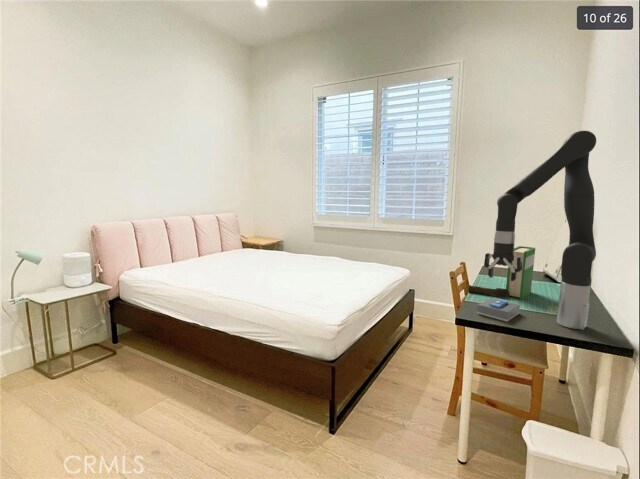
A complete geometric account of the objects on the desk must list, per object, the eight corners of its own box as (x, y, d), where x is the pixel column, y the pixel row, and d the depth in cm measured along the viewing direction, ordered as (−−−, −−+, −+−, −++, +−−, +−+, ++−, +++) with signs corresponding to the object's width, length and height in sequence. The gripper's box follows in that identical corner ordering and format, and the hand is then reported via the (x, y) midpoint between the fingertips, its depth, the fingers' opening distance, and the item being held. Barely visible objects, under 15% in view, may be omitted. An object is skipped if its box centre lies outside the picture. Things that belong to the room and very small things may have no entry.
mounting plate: (518, 313, 144) (519, 304, 144) (507, 321, 135) (507, 312, 134) (490, 306, 153) (490, 298, 153) (477, 313, 144) (477, 304, 143)
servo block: (507, 310, 146) (508, 299, 145) (498, 315, 139) (499, 304, 139) (498, 308, 149) (499, 297, 148) (489, 313, 142) (490, 302, 141)
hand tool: (467, 293, 174) (468, 284, 173) (469, 291, 177) (469, 282, 177) (508, 300, 163) (509, 291, 162) (509, 298, 166) (510, 289, 166)
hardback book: (521, 299, 163) (526, 251, 160) (505, 296, 168) (509, 249, 165) (530, 292, 176) (535, 247, 172) (515, 289, 181) (519, 246, 177)
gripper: (526, 242, 137) (523, 280, 139) (490, 239, 147) (487, 274, 149) (520, 244, 132) (517, 283, 134) (483, 240, 142) (480, 277, 144)
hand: (501, 279), depth 142 cm, fingers open, 8 cm apart
